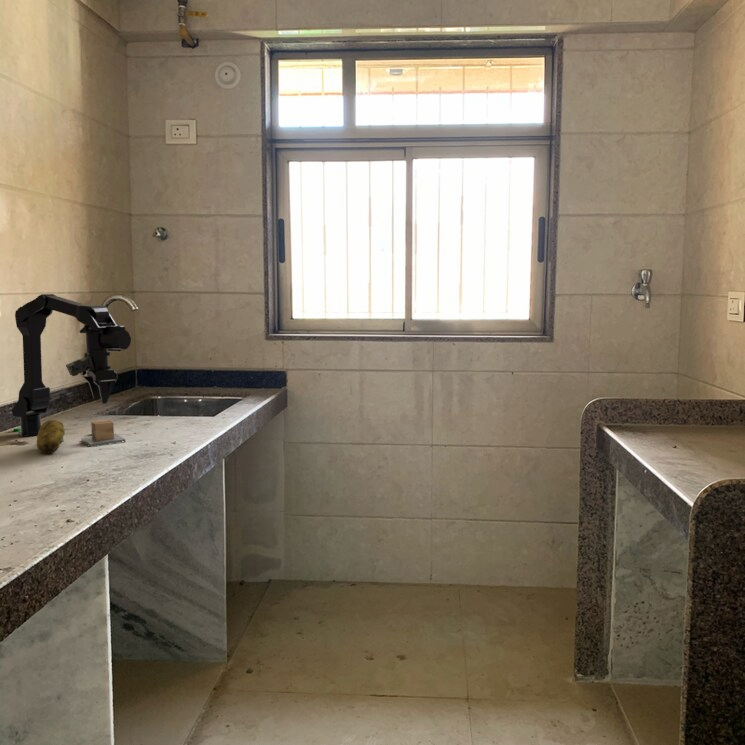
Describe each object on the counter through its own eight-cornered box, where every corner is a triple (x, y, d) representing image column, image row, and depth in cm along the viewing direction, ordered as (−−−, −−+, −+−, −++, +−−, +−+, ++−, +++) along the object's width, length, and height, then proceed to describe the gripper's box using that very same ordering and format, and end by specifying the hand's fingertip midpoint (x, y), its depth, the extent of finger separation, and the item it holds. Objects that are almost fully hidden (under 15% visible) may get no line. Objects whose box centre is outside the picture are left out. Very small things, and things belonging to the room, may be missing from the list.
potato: (25, 456, 194) (23, 427, 193) (46, 445, 207) (44, 418, 206) (55, 455, 194) (54, 426, 193) (74, 445, 207) (73, 417, 206)
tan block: (92, 438, 212) (91, 421, 211) (109, 436, 215) (108, 419, 214) (96, 441, 208) (95, 424, 207) (114, 438, 211) (113, 422, 210)
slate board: (81, 440, 212) (81, 438, 212) (115, 436, 218) (115, 433, 218) (90, 446, 204) (89, 444, 204) (125, 441, 210) (125, 439, 210)
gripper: (60, 348, 211) (63, 400, 213) (75, 352, 196) (79, 408, 198) (99, 345, 218) (102, 396, 220) (117, 350, 203) (120, 404, 205)
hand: (100, 401), depth 210 cm, fingers open, 9 cm apart
